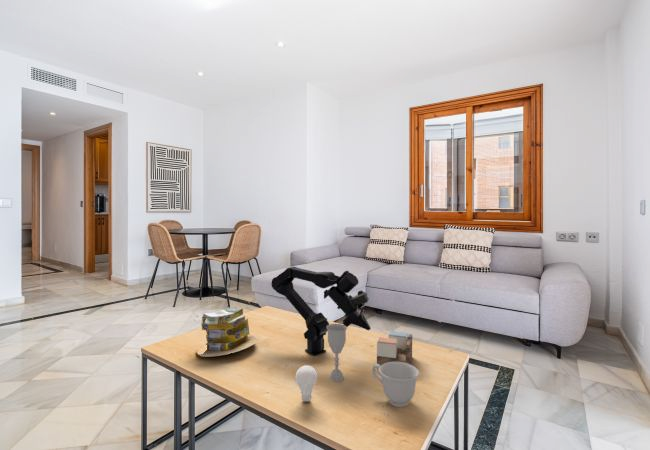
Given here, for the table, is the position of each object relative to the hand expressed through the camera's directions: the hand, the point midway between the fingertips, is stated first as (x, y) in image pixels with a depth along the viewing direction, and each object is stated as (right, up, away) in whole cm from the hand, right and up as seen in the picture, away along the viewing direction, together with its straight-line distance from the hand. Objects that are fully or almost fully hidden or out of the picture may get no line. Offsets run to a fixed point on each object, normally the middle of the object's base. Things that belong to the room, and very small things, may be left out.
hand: (369, 329), depth 131 cm
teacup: (+4, -14, -26) cm, 30 cm away
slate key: (+12, -8, +3) cm, 15 cm away
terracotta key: (+6, -8, -3) cm, 11 cm away
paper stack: (-58, -13, +13) cm, 61 cm away
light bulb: (-23, -14, -27) cm, 38 cm away
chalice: (-13, -13, -12) cm, 22 cm away
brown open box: (+10, -13, 0) cm, 16 cm away
